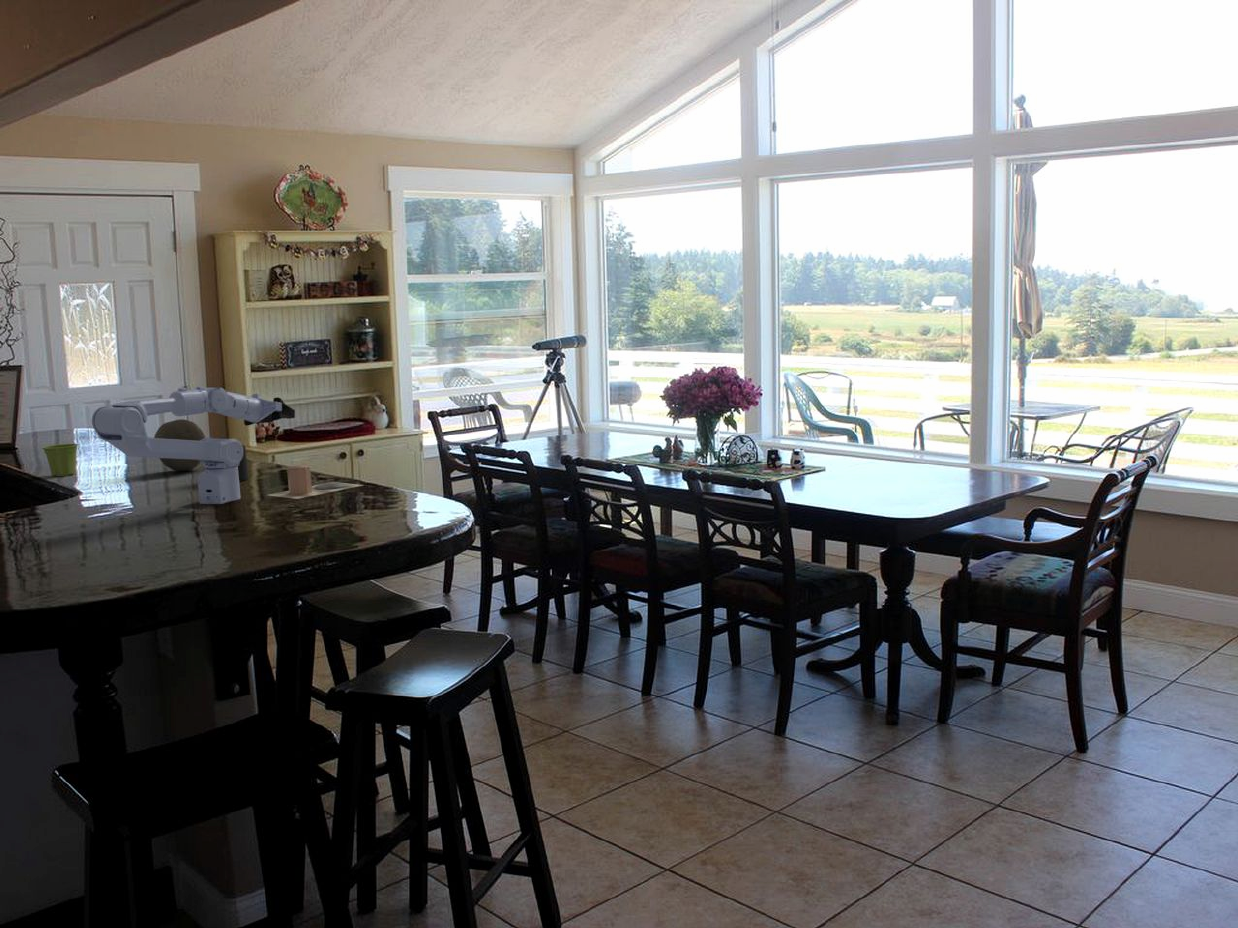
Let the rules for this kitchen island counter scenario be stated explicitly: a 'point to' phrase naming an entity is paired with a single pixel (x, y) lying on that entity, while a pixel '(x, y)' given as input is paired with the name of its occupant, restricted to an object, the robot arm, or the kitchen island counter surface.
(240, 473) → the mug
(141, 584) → the kitchen island counter surface
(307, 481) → the wooden block
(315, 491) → the board
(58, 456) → the plant pot
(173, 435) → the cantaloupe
